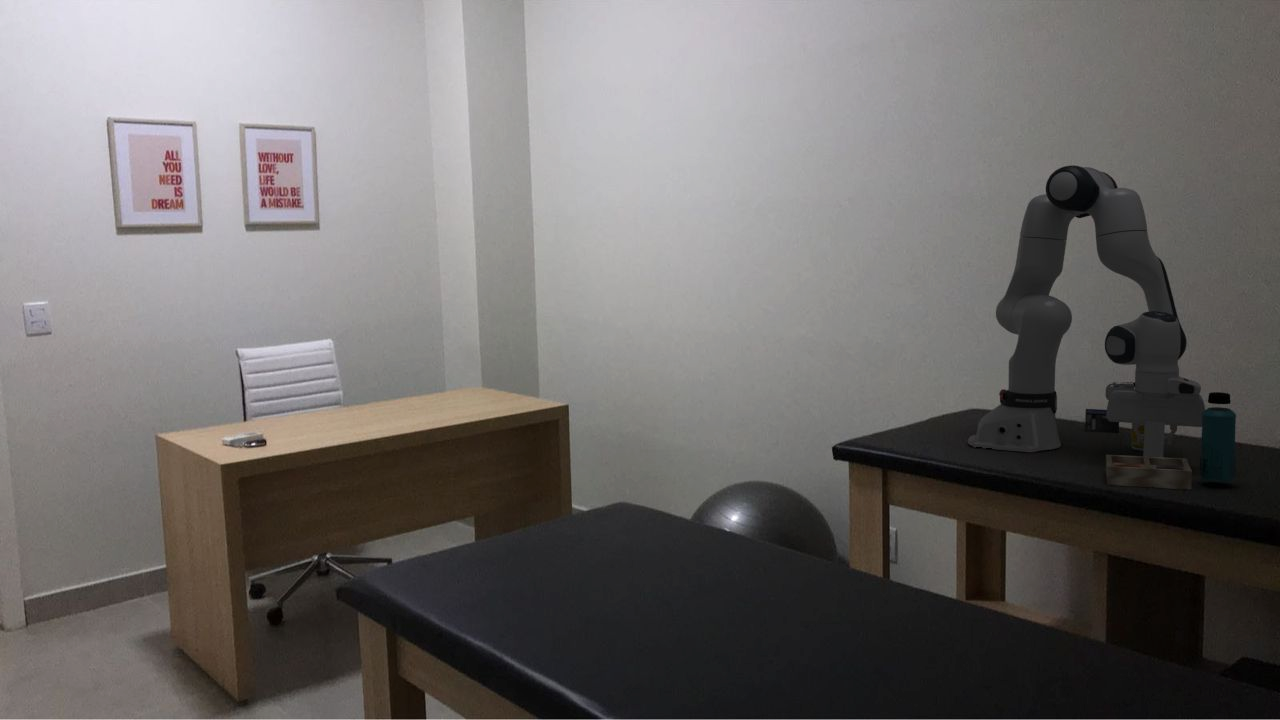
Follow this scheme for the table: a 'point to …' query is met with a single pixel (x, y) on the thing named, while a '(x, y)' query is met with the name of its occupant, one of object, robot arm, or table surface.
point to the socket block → (1148, 472)
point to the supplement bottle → (1134, 443)
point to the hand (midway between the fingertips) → (1153, 443)
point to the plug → (1154, 439)
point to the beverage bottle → (1218, 440)
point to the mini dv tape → (1099, 422)
